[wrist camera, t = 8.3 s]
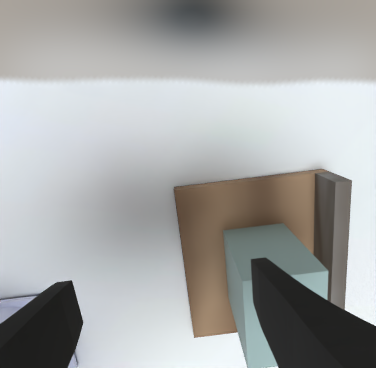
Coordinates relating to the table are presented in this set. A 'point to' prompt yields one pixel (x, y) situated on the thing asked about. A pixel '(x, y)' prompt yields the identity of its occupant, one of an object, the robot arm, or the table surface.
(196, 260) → the shelf board
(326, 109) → the table surface
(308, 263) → the carton
